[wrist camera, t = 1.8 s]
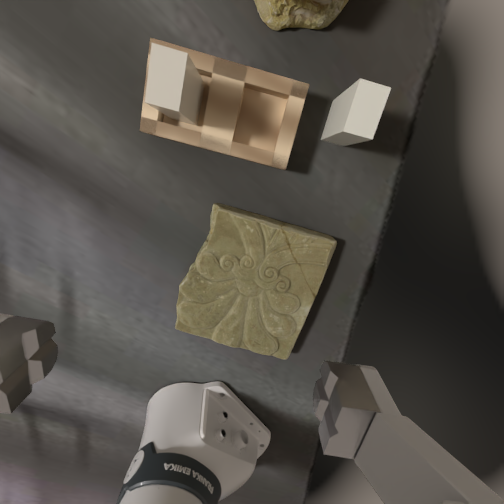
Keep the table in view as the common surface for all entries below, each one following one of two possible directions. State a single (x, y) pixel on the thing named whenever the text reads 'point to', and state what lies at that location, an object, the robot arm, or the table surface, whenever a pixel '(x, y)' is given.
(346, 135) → the white rectangular block
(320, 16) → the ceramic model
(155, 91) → the white upright prism
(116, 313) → the table surface
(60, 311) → the table surface
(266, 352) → the decorative tile
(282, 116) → the rack
